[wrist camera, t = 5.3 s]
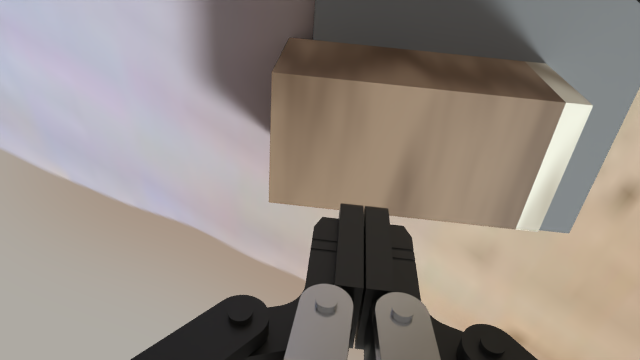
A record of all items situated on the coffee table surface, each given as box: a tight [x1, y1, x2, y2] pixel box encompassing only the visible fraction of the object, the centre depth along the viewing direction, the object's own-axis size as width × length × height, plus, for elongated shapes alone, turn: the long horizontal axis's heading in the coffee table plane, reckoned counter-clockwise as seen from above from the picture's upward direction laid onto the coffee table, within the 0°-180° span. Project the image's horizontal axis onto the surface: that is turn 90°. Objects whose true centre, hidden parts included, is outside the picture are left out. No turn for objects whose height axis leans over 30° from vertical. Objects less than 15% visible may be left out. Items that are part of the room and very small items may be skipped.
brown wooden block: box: [269, 38, 593, 232], centre depth 20 cm, size 5×6×12 cm
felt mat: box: [313, 0, 640, 233], centre depth 23 cm, size 16×13×1 cm
